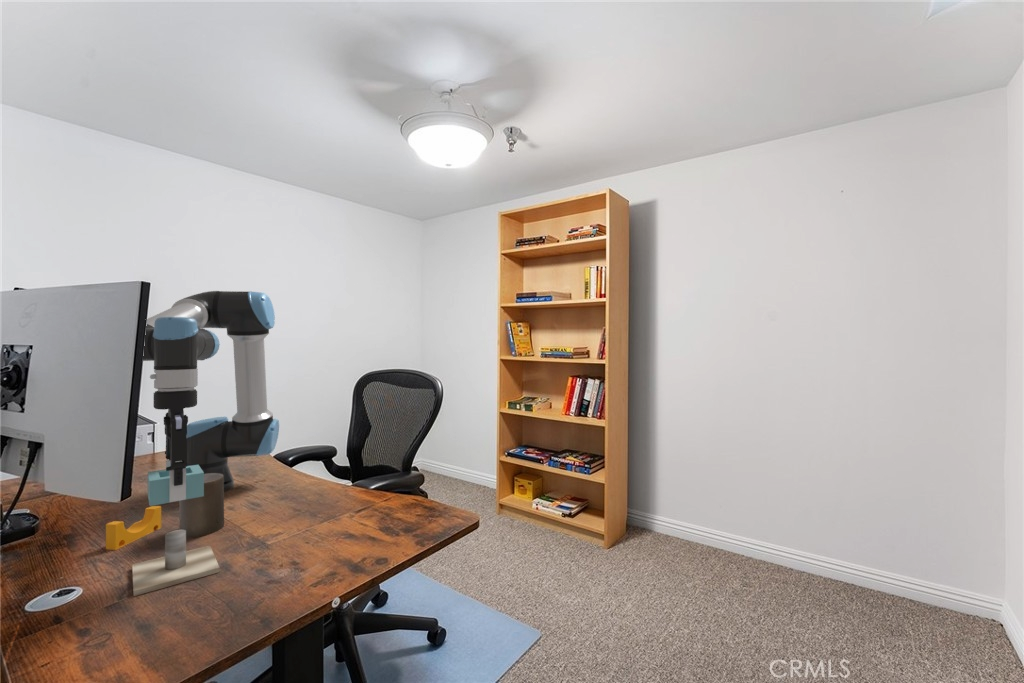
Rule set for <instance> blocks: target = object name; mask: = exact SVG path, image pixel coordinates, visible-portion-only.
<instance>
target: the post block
mask: <svg viewBox="0 0 1024 683" xmlns="http://www.w3.org/2000/svg"><path fill="white" fill-rule="evenodd" d="M131 566H132V570H131V571H132V591H133V592H132V593H133V597H137V596H140V595H144V594H146V593H151V592H154V591H158V590H161V589H164V588H169V587H171V586H176V585H178V584H183V583H186V582H189V581H192V580H196V579H200V578H203V577H207V576H210V575H211V576H212V575H214V574H218V573H220V569H221V567H220V565H219V563H218V561H217V559H216V556H215V553H214V551H213V549H212V547H211V544H210V545H206V546H202V547H197V548H193V549H190V550H187V537H186V530H179V529H175V530H172V531H169V532H167V533H165V535H164V556H161V557H158V558H154V559H153V558H152V559H148V560H145V561H140V562H136V563H132V565H131Z"/></svg>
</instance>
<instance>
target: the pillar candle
mask: <svg viewBox="0 0 1024 683" xmlns="http://www.w3.org/2000/svg"><path fill="white" fill-rule="evenodd" d="M224 495H225V492H224V476H223V474H218V473H209V474H204V496H202V497H197V498H192V499H186V500H181V501H178V502H179V504H178V505H179V507H178V509H179V511H178V514H179V516H178V519H179V522H178V524H179V526H178V527H179V529H178V530H186V538H200V537H205V536H208V535H211V534H213V533H214V534H215V533H216V532H218V531H219V530H222V529H223V528H224V527H225V526H224V525H225V496H224Z"/></svg>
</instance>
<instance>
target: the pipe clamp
mask: <svg viewBox="0 0 1024 683" xmlns="http://www.w3.org/2000/svg"><path fill="white" fill-rule="evenodd" d="M124 523H125V522H124V521H122V520H121V521H119V520H113V521H110V522H108V523H106V524H105V550H111V551H116V550H119V549H121V548H122V547H125V546H127V545H129V544H131V543H133V542H135V541H137V540H139V539H141V538H143V537H146V536H147V535H149V534H152V533H154V532H155V531H157V530H160V529H162V505H153V506H149V507H146V508H145V510H144V515H143V517H142V519H141V520H139V521H136V522H133V523H132V524H131V525H130V526H129V527H128V528H126V526H125V524H124Z"/></svg>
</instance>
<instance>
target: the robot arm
mask: <svg viewBox="0 0 1024 683" xmlns="http://www.w3.org/2000/svg"><path fill="white" fill-rule="evenodd" d="M146 319H147V326H146V335H145V346H144V356H143V361H142V362H146V361H147V362H148V361H149V362H150V361H151V362H153V374H150V376H149V378H150V379H151V380H153V388H154V389H155V390H156V391H155V390H154V392H153V408H154V409H155V410H162V411H163V410H165V411H166V410H167V412H165V416H163V425H164V435H165V451H164V455H165V459H166V460H165V469H166V471H169V502H170V503H174V501H175V502H179V501H180V500H185V499H186V467H187V466H192V465H199V466H200V468H201V469H202V471H203V472H204V474H209V473H218V474H223V476H224V493H225V492H227V491H229V490H231V489H233V488H234V486H235V480H234V478H233V475H232V472H231V470H230V467H229V463H228V461H229V459H228V458H240V457H241V458H242V457H244V458H245V457H259V456H260V457H261V456H267V455H270V454H271V453H273V451H274V450H275V448H276V445H277V442H278V438H279V432H280V422H279V419H276V418H274V417H273V412H272V411H270V410H269V408H268V398H267V379H266V378H267V377H266V375H267V374H266V358H265V357H266V354H265V353H266V352H265V338H266V337H267V336H268V335H270V330H271V329H273V328H274V327H275V324H276V323H275V322H276V320H275V319H276V317H275V309H274V306H273V303H272V300H271V299H270V296H268V294H267V293H264V292H258V291H251V290H250V291H237V290H236V291H234V290H233V291H231V290H230V291H227V290H225V291H224V290H223V291H222V290H221V291H220V290H211V291H210V290H209V291H204V292H200V293H194V294H192V295H189V296H187V297H183V298H181V299H179V300H176V301H175V303H173V304H172V306H171V307H170V308H168V309H166V310H164V311H162V312H160V313H157V314H155V315H152V316H151V317H148V318H146ZM209 329H226V336H228V337H229V338H230V339H231V340H232V343H233V360H234V378H235V379H234V380H235V395H236V398H235V399H236V413H235V414H234V415H233V416H232V417H231V418H232V419H231V421H230V420H229V418H228V417H227V416H217V417H210V418H206V419H201V420H196V421H193V422H190V423H189V416H187V414H184V413H185V412H184V411H185V410H184V409H189V408H194V407H195V406H197V404H198V390H197V389H195V388H197V386H198V373H199V372H198V361H205V360H208V359H211V358H213V357H214V356H215V355H216V354H217V353H218V351H219V350H220V345H221V344H220V340H219V337H218V336H217V335H216V334H215V332H212V331H211V330H209Z"/></svg>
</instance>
